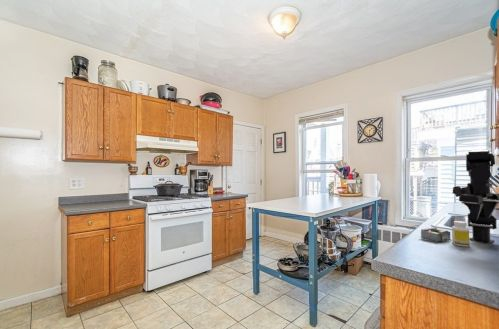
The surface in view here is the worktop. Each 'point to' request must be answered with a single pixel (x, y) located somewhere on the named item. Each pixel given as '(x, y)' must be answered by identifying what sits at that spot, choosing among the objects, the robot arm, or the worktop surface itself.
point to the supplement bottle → (460, 234)
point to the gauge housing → (433, 235)
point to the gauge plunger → (443, 234)
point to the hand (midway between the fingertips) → (481, 218)
